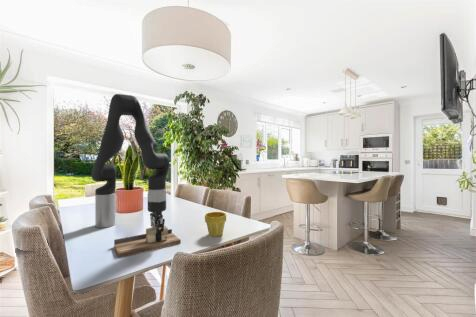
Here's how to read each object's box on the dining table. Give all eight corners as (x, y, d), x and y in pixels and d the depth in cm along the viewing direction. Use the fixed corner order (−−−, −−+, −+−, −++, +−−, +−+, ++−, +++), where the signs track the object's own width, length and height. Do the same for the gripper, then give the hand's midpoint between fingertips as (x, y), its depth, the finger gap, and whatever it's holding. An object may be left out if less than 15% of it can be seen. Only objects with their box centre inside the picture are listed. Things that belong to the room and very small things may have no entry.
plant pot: (200, 236, 106) (200, 215, 106) (211, 229, 116) (211, 210, 115) (219, 239, 102) (219, 218, 102) (229, 232, 111) (229, 212, 111)
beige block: (145, 240, 96) (145, 228, 96) (164, 236, 100) (164, 225, 100) (148, 243, 92) (148, 231, 92) (168, 239, 96) (168, 228, 96)
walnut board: (114, 246, 93) (114, 239, 93) (171, 235, 107) (171, 228, 107) (118, 257, 83) (118, 249, 83) (180, 243, 97) (180, 236, 97)
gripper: (143, 197, 100) (143, 236, 100) (152, 203, 88) (152, 246, 88) (161, 196, 104) (160, 232, 104) (171, 201, 92) (171, 242, 93)
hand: (157, 239), depth 96 cm, fingers closed on beige block, 4 cm apart
